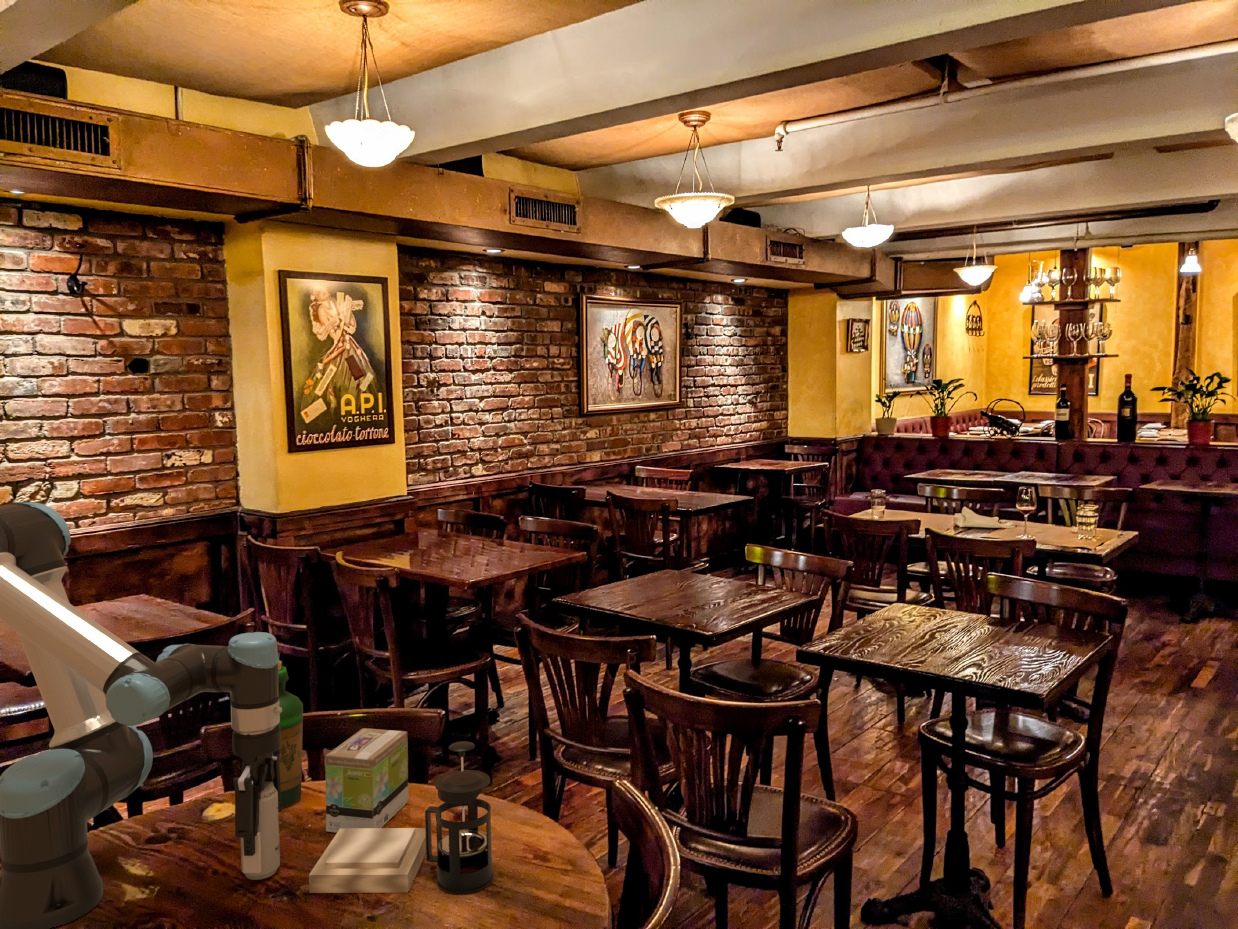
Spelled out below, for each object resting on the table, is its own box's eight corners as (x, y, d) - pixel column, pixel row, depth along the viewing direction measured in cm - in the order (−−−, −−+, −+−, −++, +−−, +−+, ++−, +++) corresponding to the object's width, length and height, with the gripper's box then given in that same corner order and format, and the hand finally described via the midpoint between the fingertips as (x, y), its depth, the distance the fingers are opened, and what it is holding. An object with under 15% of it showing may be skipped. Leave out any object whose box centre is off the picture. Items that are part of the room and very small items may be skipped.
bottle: (296, 812, 178) (290, 670, 176) (241, 813, 178) (234, 671, 176) (314, 789, 189) (309, 654, 187) (262, 790, 189) (256, 655, 187)
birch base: (309, 892, 149) (308, 869, 149) (340, 844, 165) (339, 823, 165) (408, 892, 149) (407, 868, 149) (429, 844, 165) (429, 822, 165)
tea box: (375, 838, 168) (373, 758, 167) (324, 833, 170) (322, 755, 169) (410, 802, 183) (408, 729, 182) (363, 798, 185) (360, 726, 184)
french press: (504, 868, 157) (502, 735, 155) (486, 898, 147) (483, 757, 146) (439, 862, 159) (435, 731, 157) (417, 891, 150) (413, 752, 148)
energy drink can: (286, 872, 156) (283, 785, 154) (250, 885, 151) (247, 796, 150) (270, 859, 160) (268, 775, 159) (236, 872, 156) (232, 785, 154)
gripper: (255, 749, 144) (260, 892, 146) (299, 707, 163) (303, 834, 165) (207, 749, 144) (213, 891, 146) (256, 707, 163) (261, 834, 165)
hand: (260, 861), depth 155 cm, fingers closed on energy drink can, 6 cm apart
